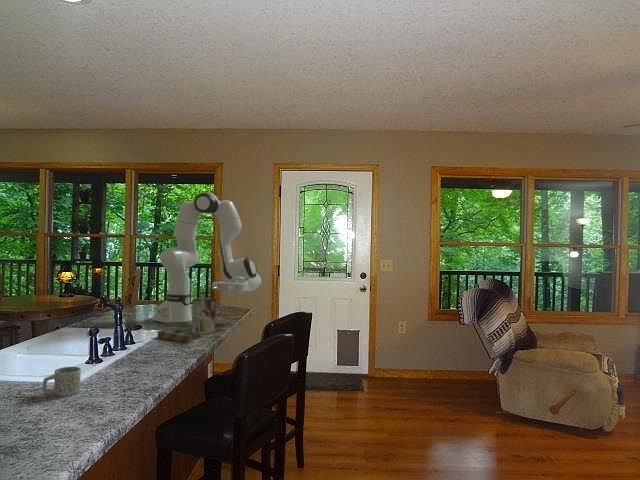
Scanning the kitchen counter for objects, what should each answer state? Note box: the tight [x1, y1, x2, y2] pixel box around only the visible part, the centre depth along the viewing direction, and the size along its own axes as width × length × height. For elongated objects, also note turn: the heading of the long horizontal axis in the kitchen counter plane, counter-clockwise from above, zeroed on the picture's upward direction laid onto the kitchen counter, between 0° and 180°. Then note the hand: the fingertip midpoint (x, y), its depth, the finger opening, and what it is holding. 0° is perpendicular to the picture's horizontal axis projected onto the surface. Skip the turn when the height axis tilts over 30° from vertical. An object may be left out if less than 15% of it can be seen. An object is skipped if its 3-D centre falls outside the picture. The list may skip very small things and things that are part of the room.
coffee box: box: [191, 297, 217, 336], centre depth 225 cm, size 9×6×16 cm
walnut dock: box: [157, 330, 201, 344], centre depth 211 cm, size 18×10×3 cm, turn 64°
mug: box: [41, 366, 82, 398], centre depth 136 cm, size 10×7×7 cm, turn 141°
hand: (220, 287), depth 235 cm, fingers open, 8 cm apart
